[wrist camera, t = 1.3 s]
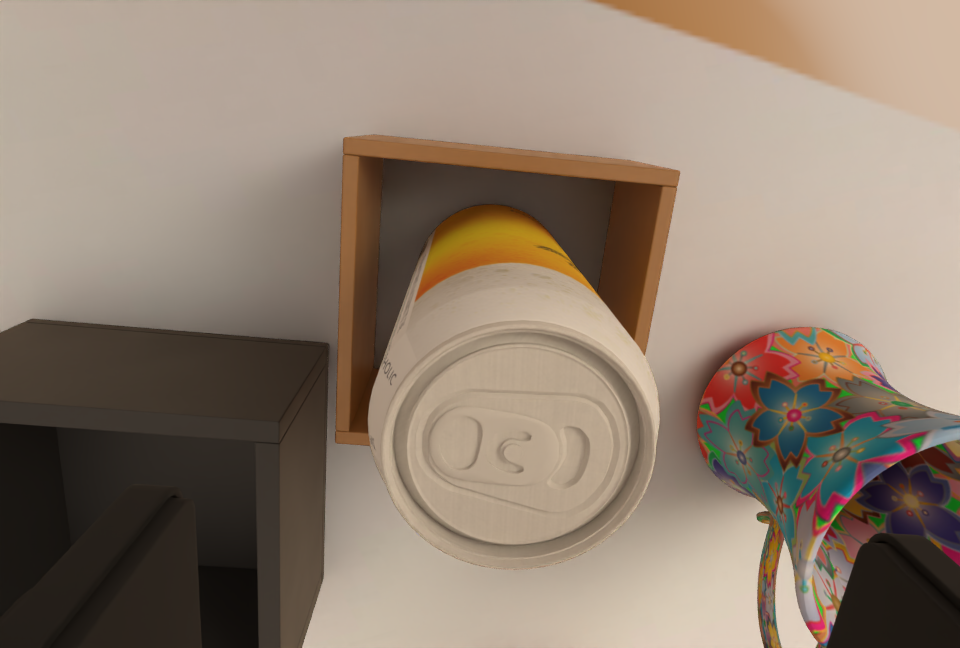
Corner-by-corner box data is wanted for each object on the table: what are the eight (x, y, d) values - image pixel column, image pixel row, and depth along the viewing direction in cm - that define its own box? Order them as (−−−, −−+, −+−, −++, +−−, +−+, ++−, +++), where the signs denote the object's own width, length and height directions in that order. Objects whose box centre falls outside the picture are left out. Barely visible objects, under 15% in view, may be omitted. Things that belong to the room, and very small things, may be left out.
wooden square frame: (371, 134, 24) (342, 137, 18) (631, 160, 25) (680, 170, 19) (362, 377, 27) (334, 443, 22) (591, 395, 28) (624, 465, 22)
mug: (750, 278, 26) (928, 374, 16) (923, 360, 28) (1188, 496, 17) (617, 498, 30) (696, 693, 19) (778, 562, 31) (929, 774, 21)
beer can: (543, 352, 27) (631, 604, 13) (407, 328, 27) (340, 563, 12) (575, 217, 25) (719, 335, 11) (430, 189, 25) (382, 275, 10)
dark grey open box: (31, 318, 26) (-133, 391, 19) (328, 342, 27) (279, 421, 20) (64, 562, 30) (-62, 699, 23) (323, 578, 31) (280, 716, 23)
